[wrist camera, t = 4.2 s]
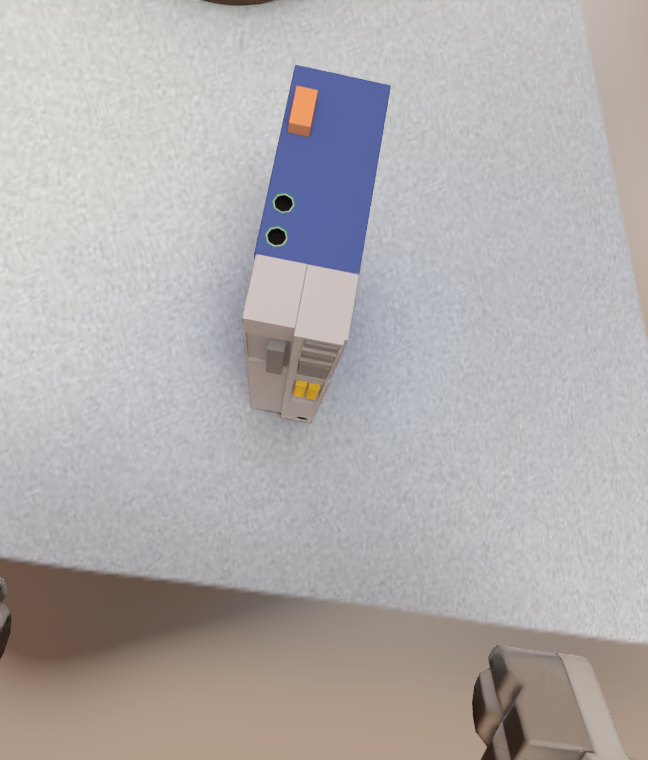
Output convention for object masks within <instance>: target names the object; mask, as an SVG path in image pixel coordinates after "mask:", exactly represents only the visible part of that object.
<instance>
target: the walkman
mask: <svg viewBox="0 0 648 760" xmlns="http://www.w3.org/2000/svg"><path fill="white" fill-rule="evenodd" d="M389 93H390V85H385V84H381V83H376V82H372V81H367V80H363V79H358V78H353V77H349V76H344V75H340V74H335V73H331V72H326V71H321V70H317V69H312V68H308V67H303V66H298V65H295V68H294V73H293V78H292V82H291V87H290V91H289V96H288V101H287V105H286V110H285V114H284V119H283V124H282V128H281V133H280V138H279V142H278V147H277V151H276V156H275V161H274V165H273V170H272V175H271V179H270V184H269V188H268V193H267V198H266V202H265V207H264V211H263V216H262V221H261V225H260V230H259V235H258V239H257V244H256V248H255V253H254V265H253V269H252V274H251V278H250V283H249V288H248V292H247V297H246V302H245V306H244V311H243V316H242V322H243V332H244V342H245V353H246V363H247V373H248V383H249V394H250V404H251V408H256V409H262V410H267V411H273V412H278V413H281V416H280V418H286V419H291V420H297V421H302V422H307V423H311V422H312V420H313V417H314V415H315V413H316V411H317V409H318V407H319V405H320V403H321V400H322V398H323V396H324V394H325V392H326V390H327V388H328V386H329V384H330V380H331V376H332V374H333V372H334V370H335V367H336V365H337V363H338V361H339V359H340V357H341V355H342V352H343V350H344V348H345V346H346V344H347V342H348V338H349V332H350V326H351V320H352V314H353V308H354V302H355V296H356V290H357V284H358V278H359V272H360V266H361V260H362V254H363V248H364V242H365V236H366V230H367V224H368V218H369V212H370V206H371V200H372V194H373V188H374V182H375V176H376V170H377V164H378V158H379V152H380V147H381V141H382V135H383V129H384V123H385V117H386V111H387V105H388V99H389Z"/></svg>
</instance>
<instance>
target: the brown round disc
mask: <svg viewBox="0 0 648 760" xmlns="http://www.w3.org/2000/svg"><path fill="white" fill-rule="evenodd" d="M207 1H211V2H216V3H223V4H237V5H246V4H256V3H262V2H267V1H271V0H207Z"/></svg>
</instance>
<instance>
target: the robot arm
mask: <svg viewBox="0 0 648 760" xmlns="http://www.w3.org/2000/svg"><path fill="white" fill-rule="evenodd" d="M6 593H7V587H6V582H5V578H1V577H0V658H1V657H2V655H3V653H4V650H5V647H6V644H7V641H8V638H9V635H10V627H11V614H10V610H9V608H7V607H6V606H5V605H4V604H3V603H2V600H3V599H4V597H5V595H6ZM488 659H489V664H490V668H489V669H487V670H485V671H483V672H481V673H480V674H479V677H478V679H477V681H476V684H475V685H474V694H473V701H472V706H473V719H474V724H475V730H476V733H477V734H478V735H479V736H480V738H481V739H482V740H483V742H484V743H485V744H486V746H487V749H486V751H485V753H484V755H483V757H482V759H481V760H637V759H634V758H628V757H627V754H626V752H625V749H624V746H623V744H622V741H621V739H620V736H619V734H618V731H617V729H616V726H615V723H614V721H613V718H612V716H611V713H610V711H609V708H608V706H607V703H606V701H605V698H604V696H603V693H602V690H601V688H600V685H599V683H598V680H597V678H596V675H595V673H594V670H593V668H592V665H591V663H590V662H589V661H588V659H587V658H586V657H583V656H577V655H569V654H561V653H554V652H552V651H544V650H537V649H528V648H520V647H512V646H504V645H497V646H496V647H494V648H493V649H492V651H491V653H490V655H489V657H488Z"/></svg>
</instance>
